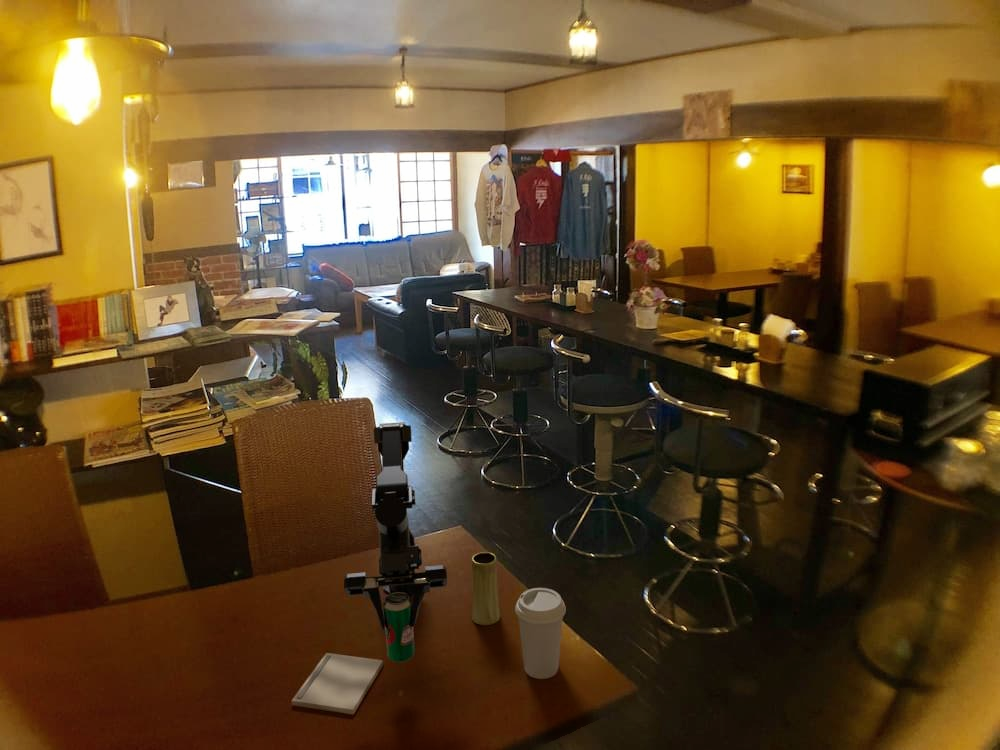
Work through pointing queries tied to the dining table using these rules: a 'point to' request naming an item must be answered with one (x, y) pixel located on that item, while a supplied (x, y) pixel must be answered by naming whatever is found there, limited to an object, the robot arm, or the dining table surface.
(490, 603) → the vase
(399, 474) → the robot arm
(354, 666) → the white rectangular tray
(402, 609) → the soda can
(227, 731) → the dining table surface
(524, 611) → the coffee cup
